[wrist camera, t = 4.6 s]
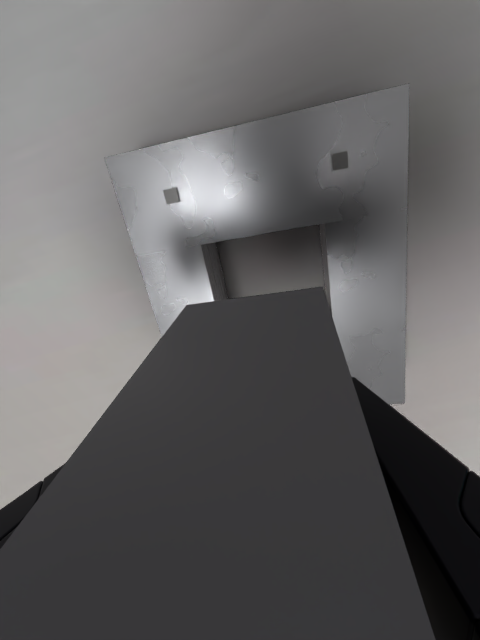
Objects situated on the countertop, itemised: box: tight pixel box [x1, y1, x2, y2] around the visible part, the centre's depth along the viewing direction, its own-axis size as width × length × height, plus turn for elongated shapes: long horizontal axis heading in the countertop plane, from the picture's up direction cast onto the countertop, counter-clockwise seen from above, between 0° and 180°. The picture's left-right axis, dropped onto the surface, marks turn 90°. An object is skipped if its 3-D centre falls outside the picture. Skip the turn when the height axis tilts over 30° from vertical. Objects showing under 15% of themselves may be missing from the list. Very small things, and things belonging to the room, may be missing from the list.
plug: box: [0, 287, 435, 640], centre depth 6 cm, size 4×4×9 cm
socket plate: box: [104, 83, 409, 404], centre depth 16 cm, size 14×12×3 cm
